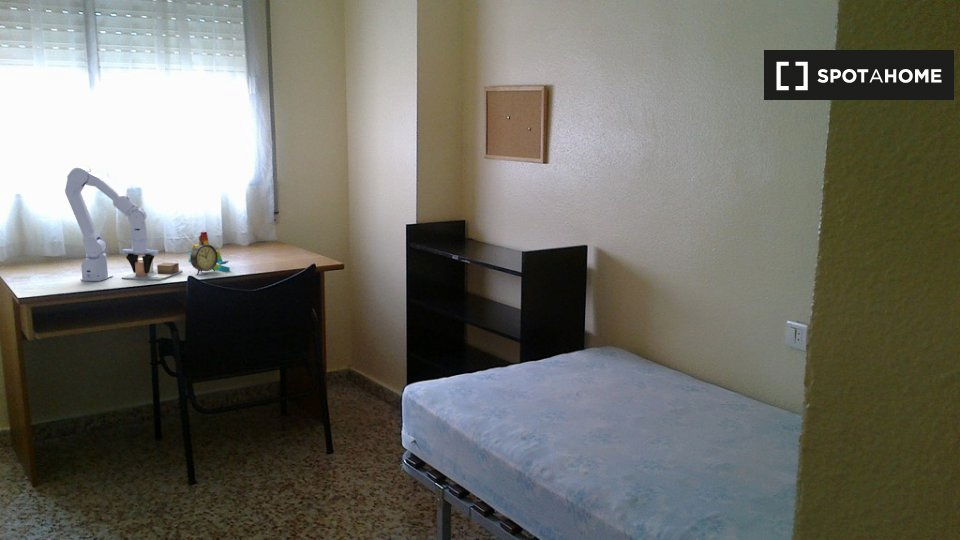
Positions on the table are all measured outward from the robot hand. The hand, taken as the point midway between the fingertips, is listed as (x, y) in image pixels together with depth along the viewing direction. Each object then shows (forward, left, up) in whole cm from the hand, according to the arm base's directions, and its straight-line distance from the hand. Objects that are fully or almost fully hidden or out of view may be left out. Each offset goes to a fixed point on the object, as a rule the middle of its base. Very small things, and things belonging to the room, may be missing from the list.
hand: (141, 272), depth 314 cm
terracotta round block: (0, 0, -1) cm, 1 cm away
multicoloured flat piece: (+26, -16, -2) cm, 31 cm away
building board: (+4, -3, -2) cm, 5 cm away
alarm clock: (+13, -20, -2) cm, 24 cm away
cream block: (+7, +2, -1) cm, 8 cm away
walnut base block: (+8, -7, -2) cm, 11 cm away
